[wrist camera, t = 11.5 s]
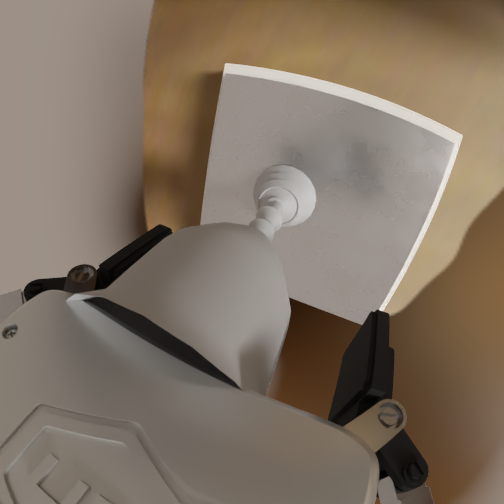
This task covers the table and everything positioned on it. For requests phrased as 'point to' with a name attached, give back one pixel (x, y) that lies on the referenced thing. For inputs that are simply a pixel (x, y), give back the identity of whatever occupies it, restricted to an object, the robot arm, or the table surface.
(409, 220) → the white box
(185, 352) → the chalice
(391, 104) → the base
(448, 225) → the table surface
